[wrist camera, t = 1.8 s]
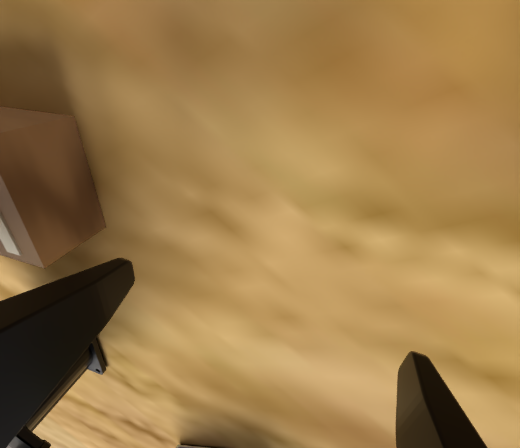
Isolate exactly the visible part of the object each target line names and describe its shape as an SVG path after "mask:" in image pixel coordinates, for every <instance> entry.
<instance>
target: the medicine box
mask: <svg viewBox="0 0 520 448" xmlns="http://www.w3.org/2000/svg"><path fill="white" fill-rule="evenodd" d="M176 448H209V447H197V446H186V445H177V447H176Z"/></svg>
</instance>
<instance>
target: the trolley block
mask: <svg viewBox="0 0 520 448" xmlns="http://www.w3.org/2000/svg"><path fill="white" fill-rule="evenodd" d="M105 227H106V225H105V222H104V218H103V215H102V211H101V208H100V204H99V201H98V197H97V194H96V190H95V187H94V183H93V180H92V176H91V173H90V169H89V166H88V162H87V159H86V155H85V152H84V148H83V145H82V142H81V138H80V135H79V131H78V128H77V124H76V121H75V117H74V116H70V115H63V114H55V113H47V112H40V111H32V110H24V109H17V108H9V107H1V106H0V255H2V256H5V257H9V258H12V259H15V260H19V261H22V262H25V263H28V264H32V265H35V266H38V267H42V268H46V267H47V266H49V265H50V264H52V263H53V262H55V261H56V260H58V259H59V258H61V257H62V256H64V255H65V254H67V253H68V252H70V251H71V250H73V249H74V248H75V247H77V246H78V245H80V244H81V243H83V242H84V241H86V240H87V239H89V238H90V237H92V236H93V235H95V234H96V233H98V232H99V231H101V230H102V229H104V228H105Z"/></svg>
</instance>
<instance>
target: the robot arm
mask: <svg viewBox="0 0 520 448" xmlns="http://www.w3.org/2000/svg"><path fill="white" fill-rule="evenodd" d="M134 281H135V276H134V270H133V265H132V262H131V261H130V260H127V259H123V258H117V259H114V260H111V261H109V262H106V263H103V264H100V265H98V266H95V267H92V268H90V269H87V270H84V271H81V272H79V273H76V274H73V275H70V276H68V277H65V278H62V279H60V280H57V281H54V282H51V283H49V284H46V285H43V286H40V287H38V288H35V289H32V290H30V291H27V292H24V293H21V294H19V295H16V296H13V297H10V298H8V299H5V300H2V301H0V448H6V447H7V446H8V445H9V446H10V447H11V448H50V446H51V444H50V443H49V442H47V441H46V440H42V439H40V438H39V437H38V436H36V435H35V434H34V433H33V432H32V431H33V430H34V429H35V428H36V427H37V425H38V424H39V423H40V422H41V421H42V420H43V419H44V418H45V416H46V415H47V414H48V413H49V412H50V411H51V410H52V408H53V407H54V406H55V405H56V404H57V403H58V402H59V401H60V399H61V398H62V397H63V396H64V395H65V394H66V393H67V391H68V390H69V389H70V388H71V387H72V386H73V385H74V384H75V382H76V381H77V380H78V379H79V378H80V377H81V376H82V374H83V373H84V372H85V371H86V370H87V369H89V370H91V371H93V372H96V373H98V374H103V373H104V372H105V371H106V367H105V364H104V361H103V358H102V355H101V352H100V349H99V346H98V343H97V340H96V337H97V336H98V334H99V333H100V332H101V331H102V329H103V328H104V327H105V326H106V324H107V323H108V322H109V320H110V319H111V317H112V316H113V314H114V313H115V311H116V310H117V308H118V307H119V305H120V304H121V302H122V301H123V299H124V298H125V296H126V295H127V293H128V292H129V290H130V289H131V287H132V286H133V284H134ZM396 447H397V448H487V446H486V445H485V443H484V442H483V440H482V439H481V437H480V435H479V434H478V432H477V431H476V429H475V428H474V426H473V425H472V423H471V422H470V420H469V419H468V417H467V416H466V414H465V413H464V411H463V410H462V408H461V406H460V405H459V403H458V402H457V400H456V399H455V397H454V396H453V394H452V393H451V391H450V390H449V388H448V387H447V385H446V384H445V382H444V380H443V379H442V377H441V376H440V374H439V373H438V371H437V370H436V368H435V367H434V365H433V364H432V362H431V361H430V359H429V358H428V357H427V356H426V355H423V354H420V353H417V352H414V351H411V352H409V353H408V355H407V356H406V358H405V360H404V361H403V363H402V364H401V366H400V368H399V371H398V381H397V407H396Z"/></svg>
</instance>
